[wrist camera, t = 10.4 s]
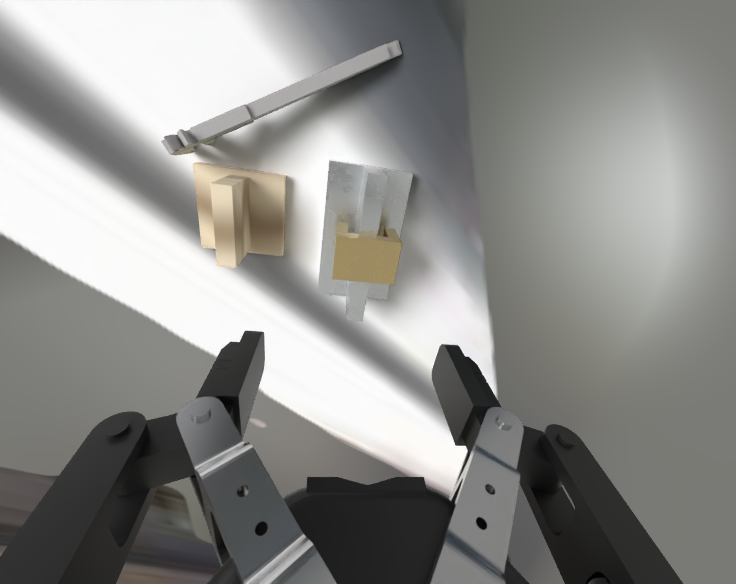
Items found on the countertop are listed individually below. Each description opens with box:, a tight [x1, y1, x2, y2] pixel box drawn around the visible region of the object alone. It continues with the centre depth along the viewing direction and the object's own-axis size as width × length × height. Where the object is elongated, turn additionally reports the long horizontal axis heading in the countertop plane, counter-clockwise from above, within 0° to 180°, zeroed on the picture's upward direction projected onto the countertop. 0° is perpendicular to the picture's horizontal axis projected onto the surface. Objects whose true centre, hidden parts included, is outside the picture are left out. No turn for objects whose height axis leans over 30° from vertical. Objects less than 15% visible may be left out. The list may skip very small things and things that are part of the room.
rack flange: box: [318, 160, 413, 321], centre depth 30 cm, size 14×8×6 cm, turn 171°
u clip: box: [332, 222, 402, 285], centre depth 28 cm, size 4×6×4 cm
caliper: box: [161, 40, 402, 155], centre depth 24 cm, size 20×1×6 cm, turn 112°
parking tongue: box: [193, 162, 286, 268], centre depth 28 cm, size 8×8×6 cm
